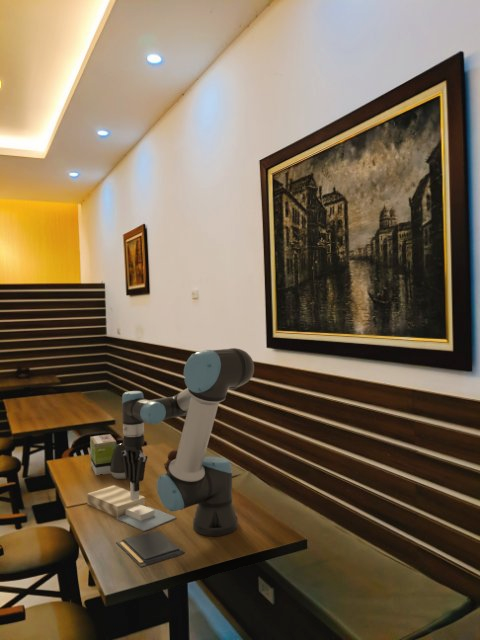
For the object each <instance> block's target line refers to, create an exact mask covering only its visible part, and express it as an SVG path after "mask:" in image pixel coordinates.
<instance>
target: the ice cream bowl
mask: <svg viewBox="0 0 480 640" xmlns="http://www.w3.org/2000/svg"><path fill="white" fill-rule="evenodd" d="M177 452H178V449H173V450H171V451H169V453H168V454H167V460H166V462H164V463H163V465H164V469H165V472H166V473H167V472H168V468H169V464H170V462H171V461H173V460H174V459H176V456H177Z"/></svg>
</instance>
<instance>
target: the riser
mask: <svg viewBox="0 0 480 640" xmlns="http://www.w3.org/2000/svg"><path fill="white" fill-rule="evenodd" d="M86 496H87V498H86V499H87V500H86V501H87V505H88V506H90V507H93V508H95V509H97V510H100V511H102V512H104V513H106V514H108V515H110V516H113V517H115V518H118V517H120V516H123V515H126V514H125V509H126V508H129V507H132V506H134V505H137V504H141V505H143V506H146V497H145V496H144V495H141V494H139V499H137V500H134V501H132V500H131V497H130V490H127V489H126V488H123V487H120V486H118V485H110V486H108V487H104V488H100V489H98V490H95V491H92V492H88V493H87V494H86Z"/></svg>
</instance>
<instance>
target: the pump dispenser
mask: <svg viewBox="0 0 480 640" xmlns="http://www.w3.org/2000/svg"><path fill="white" fill-rule="evenodd" d="M124 450H125V447H124V446H123V442H121V443H118V444H117V446H116V447H115V449H114V452H113V455H112V459H111V464H110V471H111V473H110V474H111V476H112V477H113V478H115V479H116V480H125V479H126V476H125V470H124V464H123V458H122V455H121V452H122V451H124Z"/></svg>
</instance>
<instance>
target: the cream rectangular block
mask: <svg viewBox="0 0 480 640" xmlns="http://www.w3.org/2000/svg"><path fill="white" fill-rule="evenodd" d="M125 514H126V515H128V516H131V517H133V518H135V519H137V520H140V521H142V520H144V519H147V518H150V517H152V516H154V510H153V509H151V508H148V507H147V506H146V505H145V506H143V505H141V504H137V505H134V506H132V507H129V508H126V509H125Z"/></svg>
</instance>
